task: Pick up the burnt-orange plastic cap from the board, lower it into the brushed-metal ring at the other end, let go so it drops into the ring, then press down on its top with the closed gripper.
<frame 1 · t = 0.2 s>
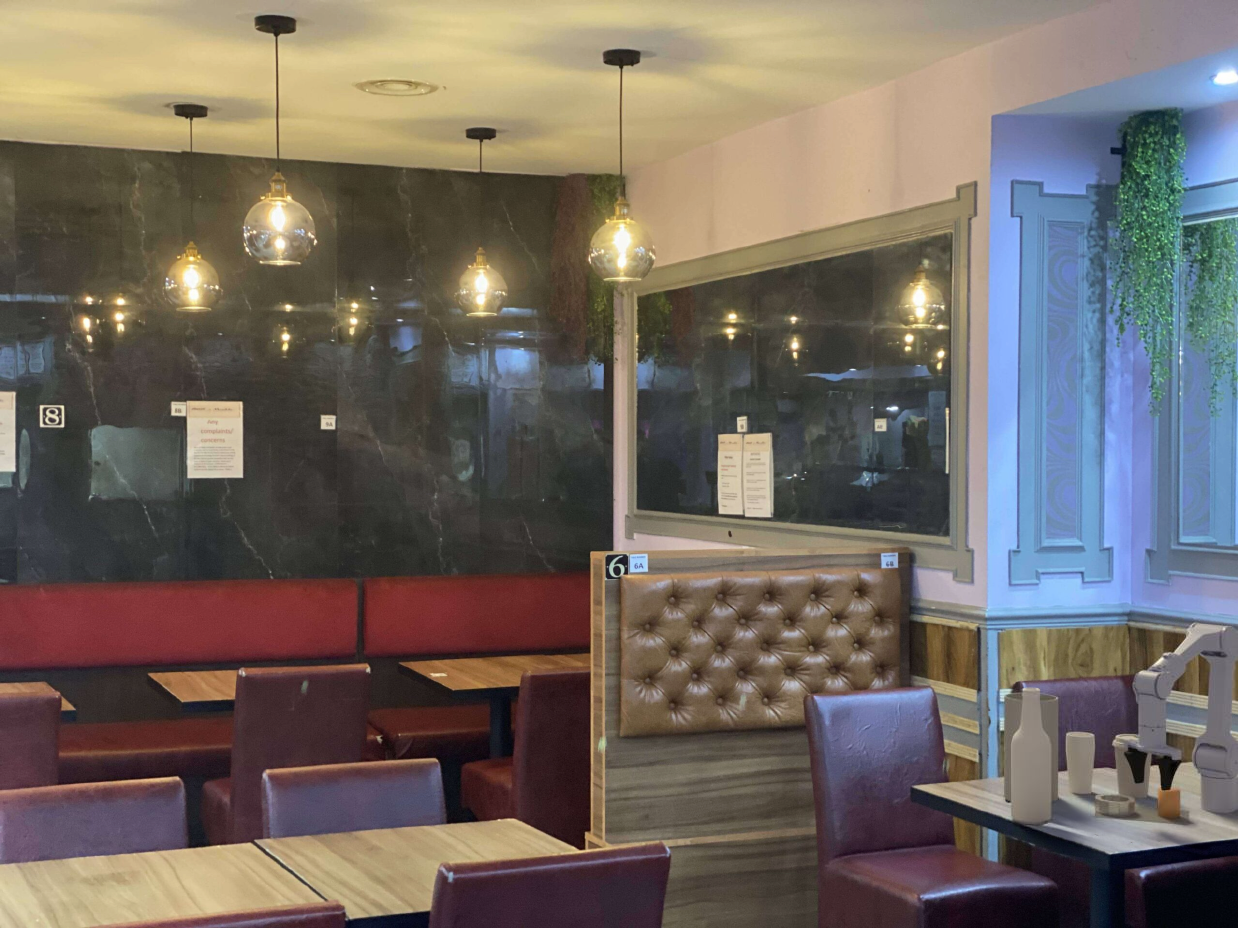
hand: (1152, 786, 318), 10 cm above the table, tool pointing down, fingers open, 7 cm apart
metal ring: (1114, 811, 331), resting on board
coffee cup: (1133, 799, 348), on the table
cap: (1169, 815, 327), point 1 cm above the table, touching board
board: (1141, 817, 329), on the table
drinking glass: (1080, 796, 351), on the table
cylinder vase: (1030, 801, 346), on the table
alcohol: (1031, 821, 327), on the table
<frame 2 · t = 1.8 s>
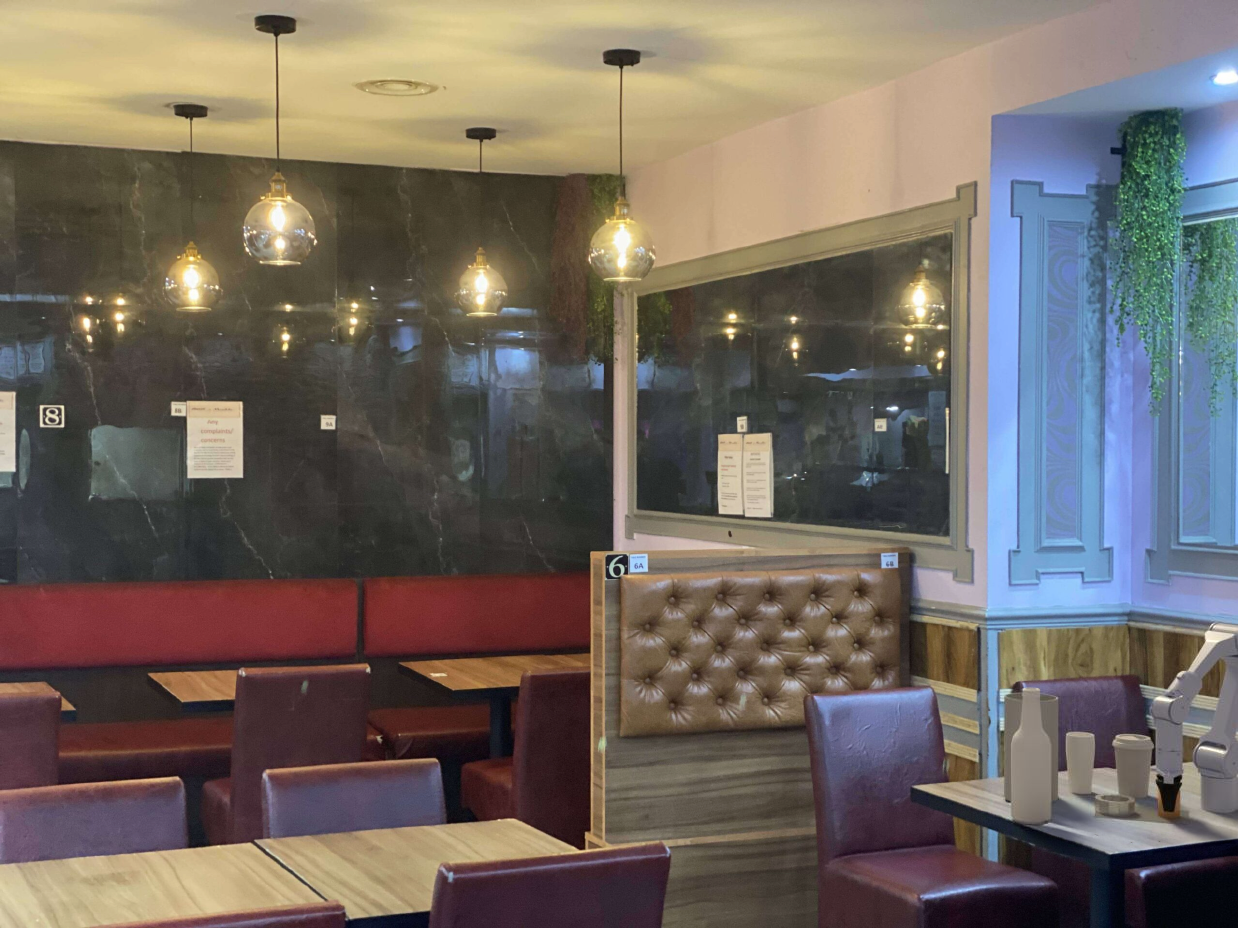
hand: (1169, 808, 327), 3 cm above the table, tool pointing down, fingers closed on cap, 5 cm apart
cap: (1169, 815, 327), point 1 cm above the table, touching board, gripper
everything else where it was.
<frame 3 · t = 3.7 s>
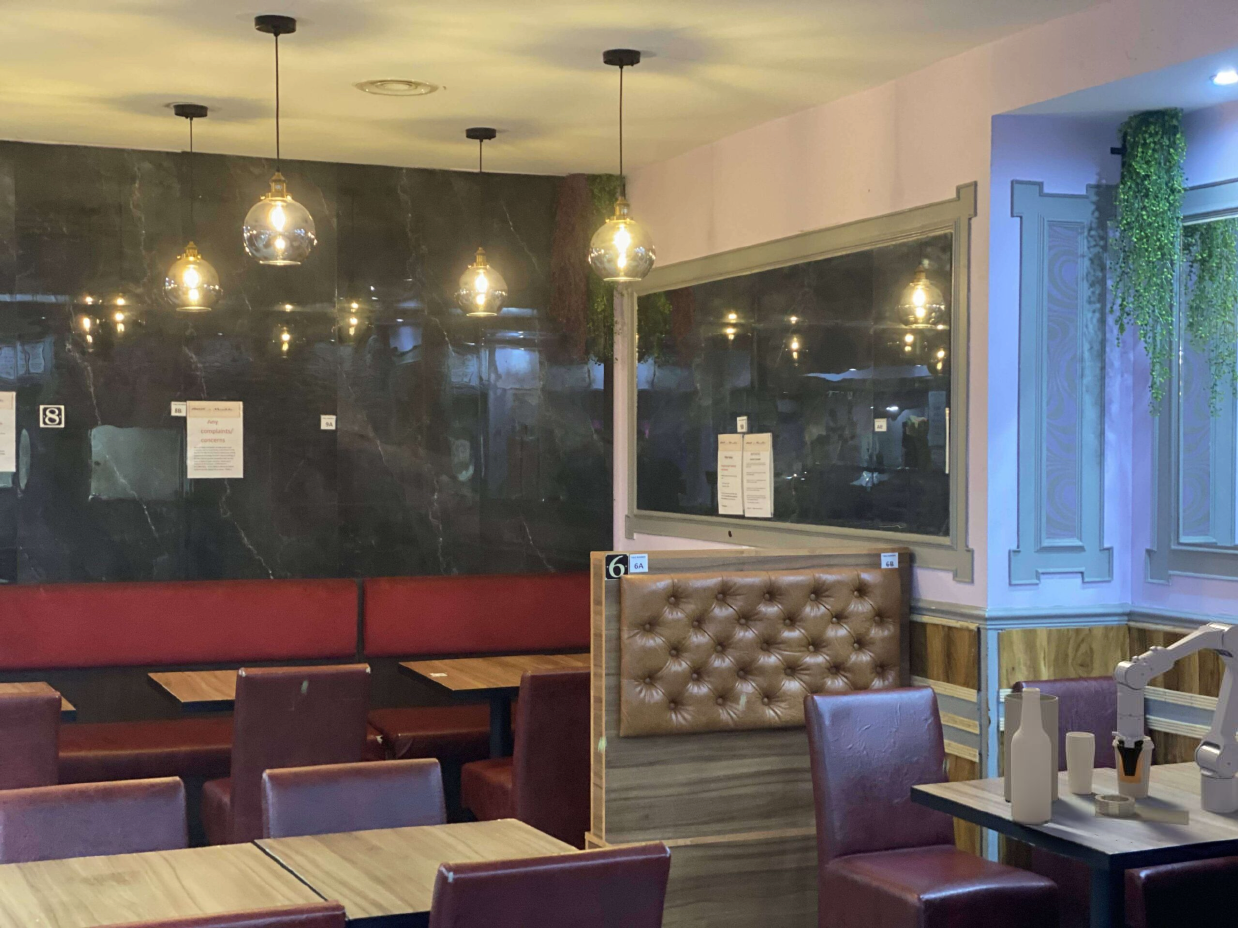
hand: (1130, 773, 330), 10 cm above the table, tool pointing down, fingers closed on cap, 5 cm apart
cap: (1130, 780, 330), point 8 cm above the table, touching gripper
everything else where it was.
when the fingers open (5 cm above the table, at t = 5.6 s): cap drops 2 cm, resting on board.
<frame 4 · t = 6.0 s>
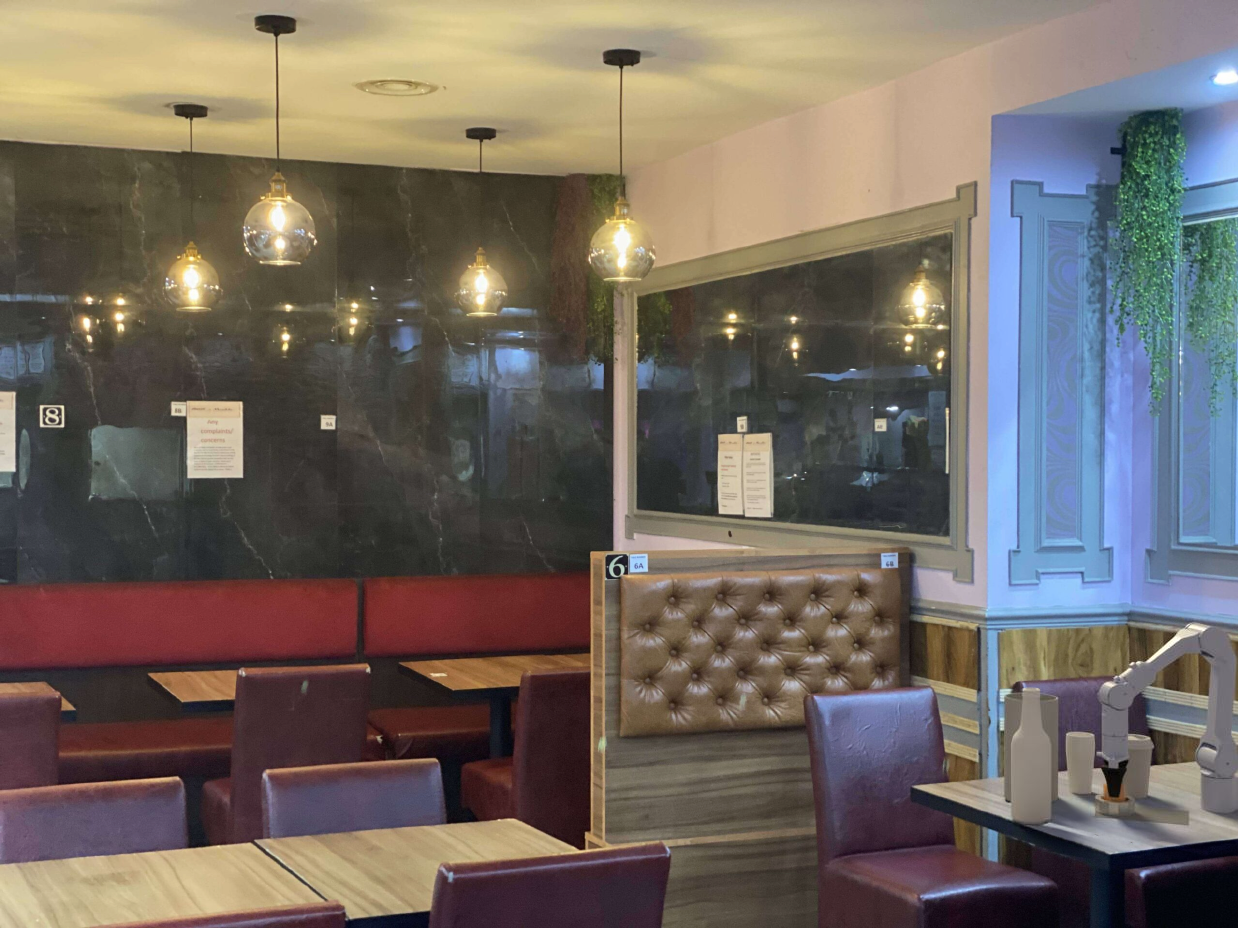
hand: (1114, 793, 331), 5 cm above the table, tool pointing down, fingers open, 7 cm apart
cap: (1115, 810, 331), point 1 cm above the table, touching board
everything else where it was.
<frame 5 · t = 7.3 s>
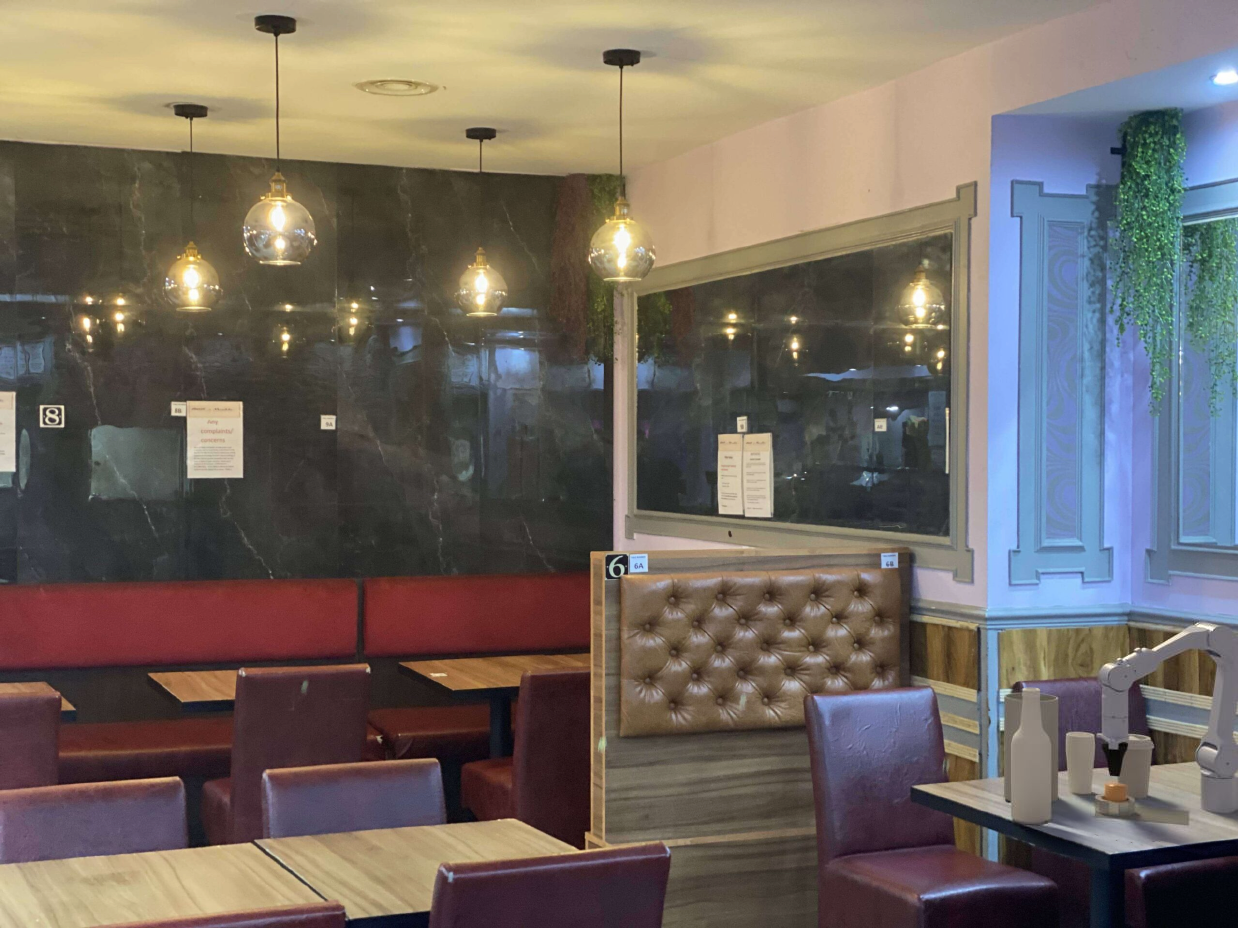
hand: (1114, 774, 331), 9 cm above the table, tool pointing down, fingers closed
nothing on the table moved.
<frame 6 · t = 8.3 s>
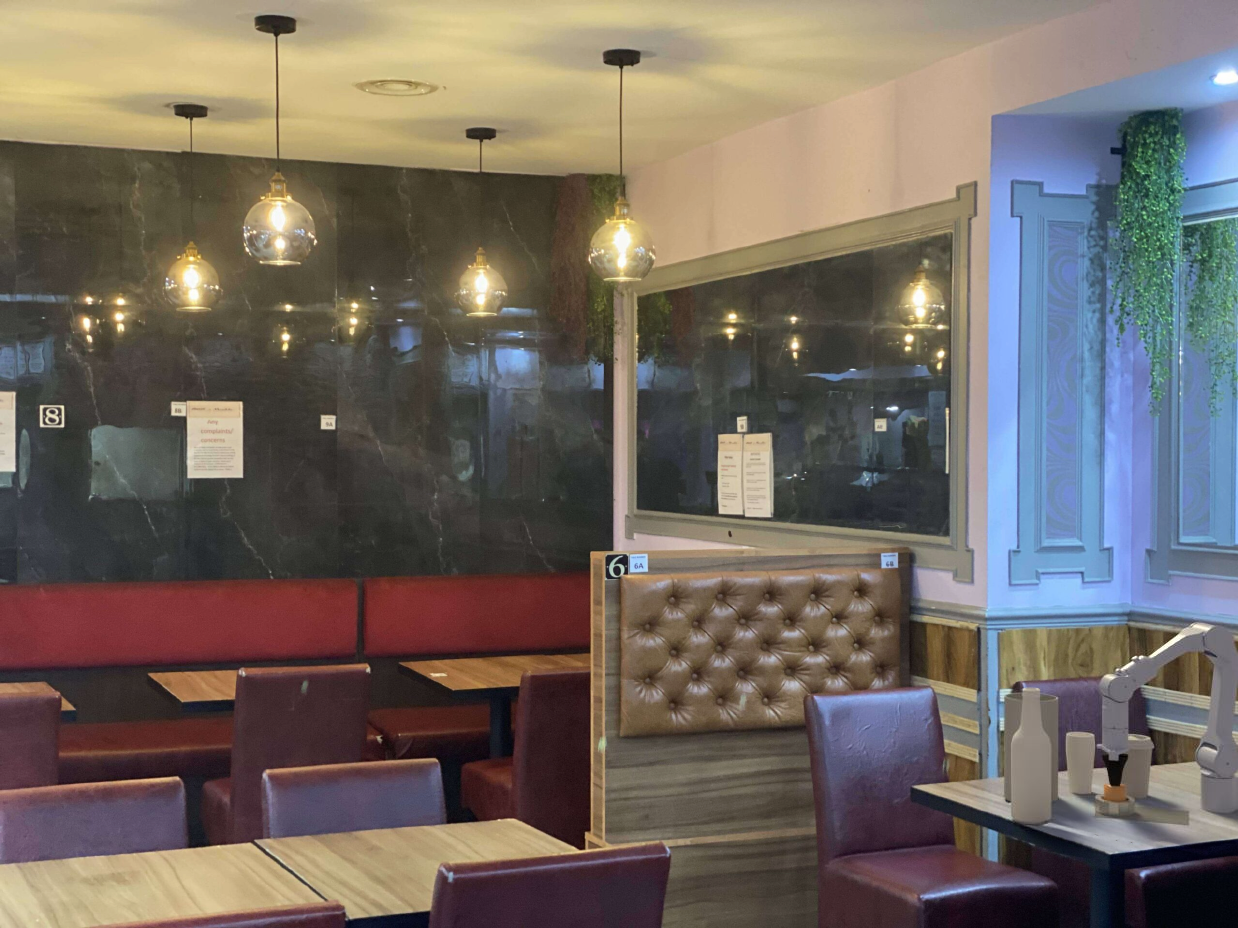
hand: (1115, 785, 331), 7 cm above the table, tool pointing down, fingers closed, pressing on cap
cap: (1115, 811, 331), point 1 cm above the table, touching board, gripper
everything else where it was.
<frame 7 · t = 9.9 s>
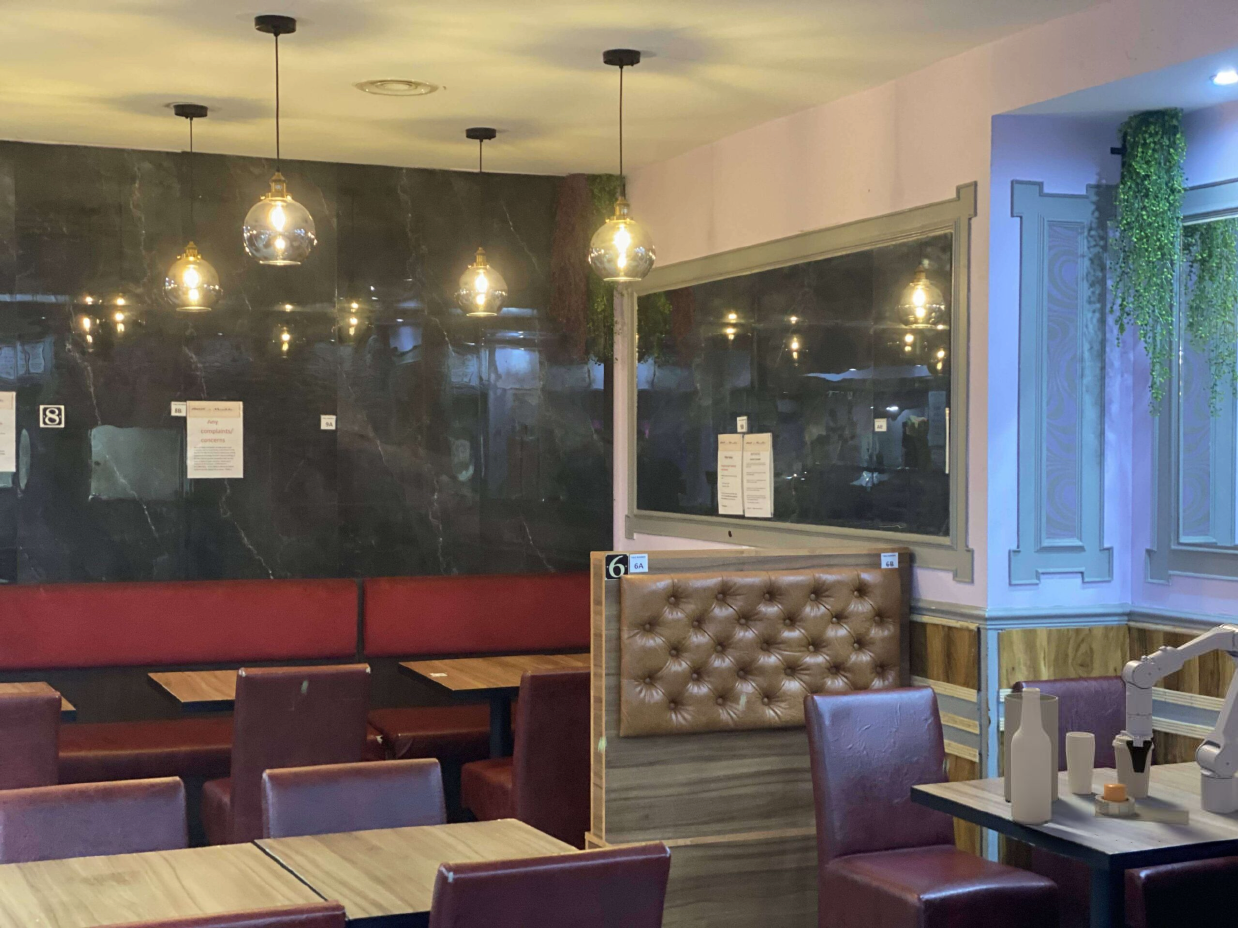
hand: (1139, 772, 332), 10 cm above the table, tool pointing down, fingers closed
cap: (1115, 811, 331), point 1 cm above the table, touching board
everything else where it was.
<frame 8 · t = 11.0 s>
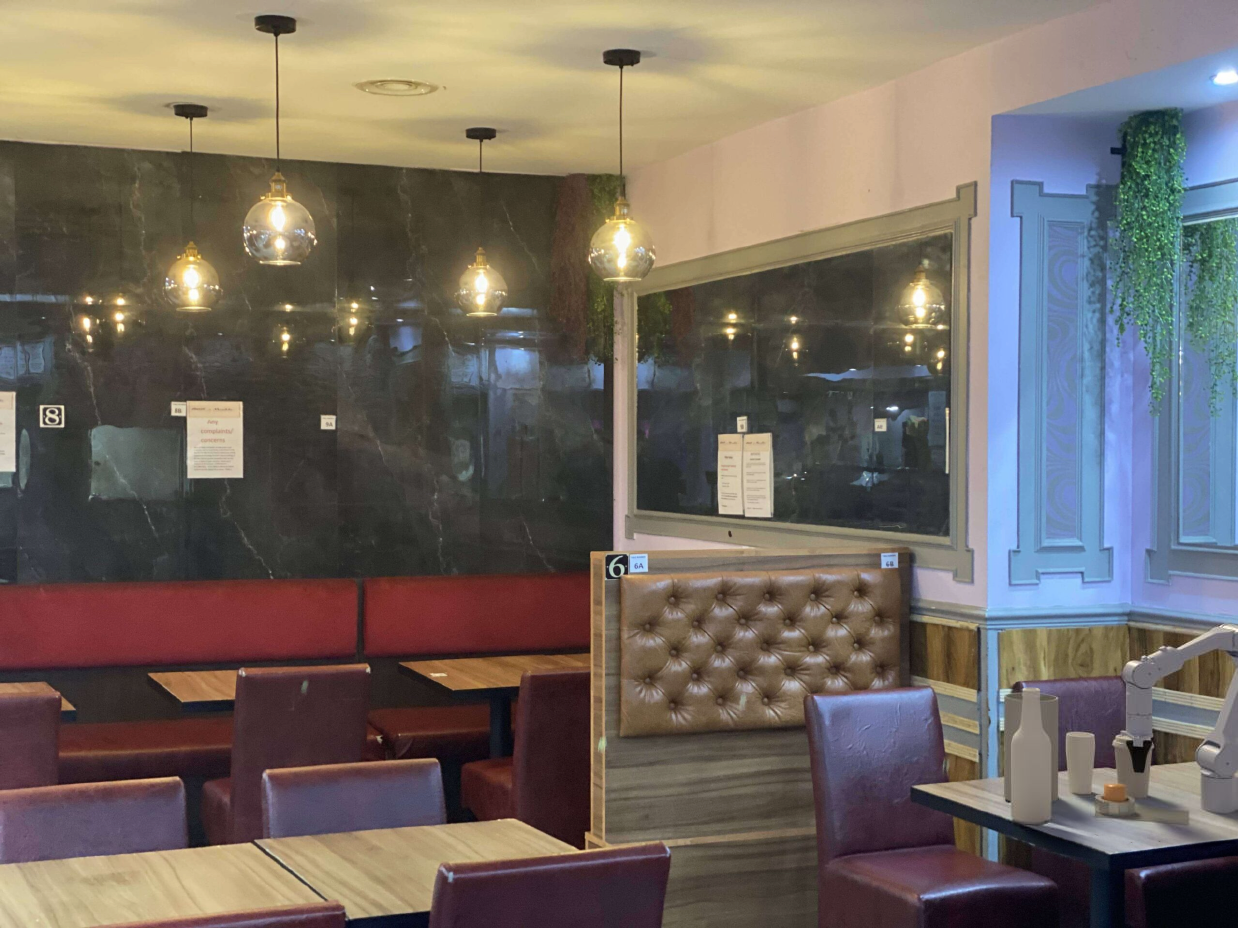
hand: (1139, 772, 332), 10 cm above the table, tool pointing down, fingers closed
nothing on the table moved.
at the end: cap 0.1 cm off-centre on the metal ring, point 0.0 cm above the metal ring's base; cap tilted 0°; the gripper is holding nothing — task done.
